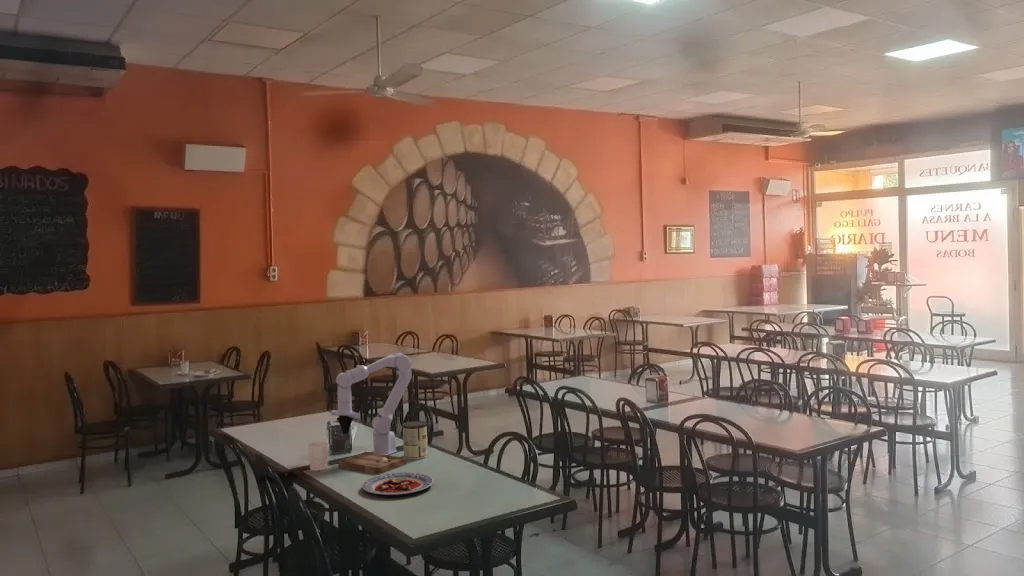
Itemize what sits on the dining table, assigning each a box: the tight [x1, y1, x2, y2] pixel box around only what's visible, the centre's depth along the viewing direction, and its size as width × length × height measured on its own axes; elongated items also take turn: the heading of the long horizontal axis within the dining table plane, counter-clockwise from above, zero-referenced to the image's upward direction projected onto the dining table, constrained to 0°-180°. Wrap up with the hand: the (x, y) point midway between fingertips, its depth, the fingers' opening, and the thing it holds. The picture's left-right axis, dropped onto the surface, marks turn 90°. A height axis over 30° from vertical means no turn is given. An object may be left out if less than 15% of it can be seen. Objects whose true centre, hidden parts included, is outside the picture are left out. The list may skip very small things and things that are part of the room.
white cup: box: [307, 441, 329, 472], centre depth 305 cm, size 8×8×10 cm
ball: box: [378, 457, 388, 464], centre depth 305 cm, size 4×4×4 cm
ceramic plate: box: [362, 472, 435, 496], centre depth 277 cm, size 26×26×3 cm
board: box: [338, 451, 407, 475], centre depth 308 cm, size 16×22×2 cm
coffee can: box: [402, 420, 429, 461], centre depth 320 cm, size 10×10×14 cm
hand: (345, 433), depth 320 cm, fingers closed
